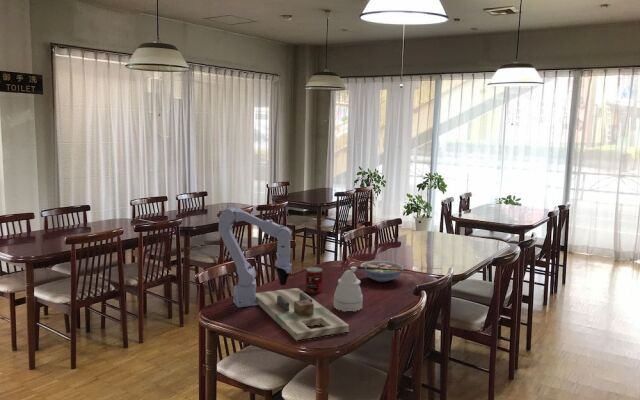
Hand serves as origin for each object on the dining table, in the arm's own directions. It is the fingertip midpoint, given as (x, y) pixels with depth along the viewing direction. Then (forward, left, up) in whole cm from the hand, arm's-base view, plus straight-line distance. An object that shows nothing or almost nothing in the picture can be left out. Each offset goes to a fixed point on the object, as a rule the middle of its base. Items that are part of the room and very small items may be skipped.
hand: (282, 284), depth 228 cm
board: (+1, -13, -9) cm, 16 cm away
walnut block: (+1, -20, -6) cm, 21 cm away
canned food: (+21, +13, -10) cm, 27 cm away
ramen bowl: (+62, +17, -10) cm, 65 cm away
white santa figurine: (+26, -12, -10) cm, 31 cm away
